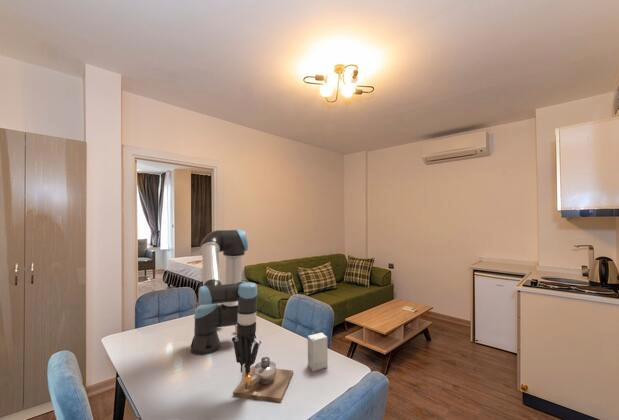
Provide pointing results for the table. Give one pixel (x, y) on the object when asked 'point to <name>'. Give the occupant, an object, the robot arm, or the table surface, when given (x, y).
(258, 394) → the brown wooden board
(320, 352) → the skincare box
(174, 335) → the table surface
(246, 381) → the silver round pot
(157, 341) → the table surface
